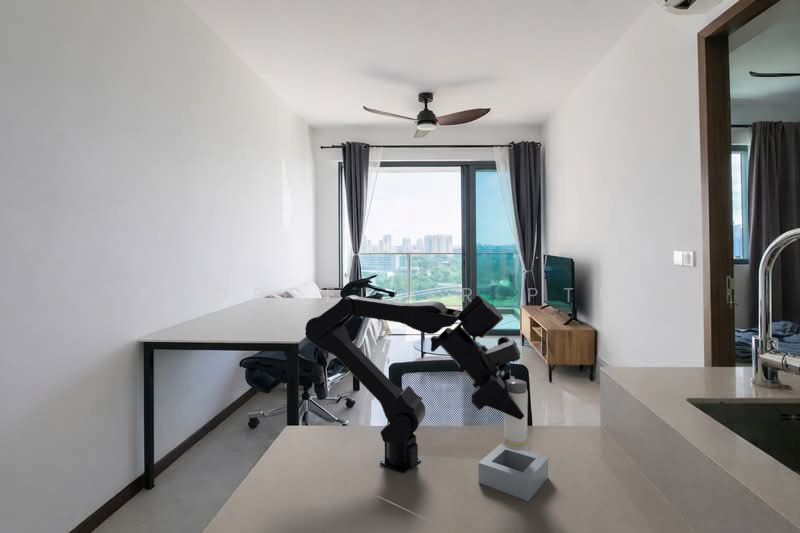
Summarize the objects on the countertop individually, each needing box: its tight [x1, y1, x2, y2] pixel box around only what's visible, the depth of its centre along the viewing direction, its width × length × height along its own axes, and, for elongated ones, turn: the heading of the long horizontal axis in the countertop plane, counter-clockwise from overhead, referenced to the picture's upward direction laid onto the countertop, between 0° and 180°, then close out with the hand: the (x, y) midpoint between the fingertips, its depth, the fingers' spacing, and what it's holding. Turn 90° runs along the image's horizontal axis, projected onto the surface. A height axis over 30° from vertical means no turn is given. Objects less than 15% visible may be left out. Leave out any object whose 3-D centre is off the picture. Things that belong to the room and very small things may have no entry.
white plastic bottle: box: [503, 378, 529, 451], centre depth 84 cm, size 4×4×12 cm
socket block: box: [478, 443, 549, 502], centre depth 84 cm, size 10×10×4 cm
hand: (522, 413), depth 84 cm, fingers closed on white plastic bottle, 4 cm apart
